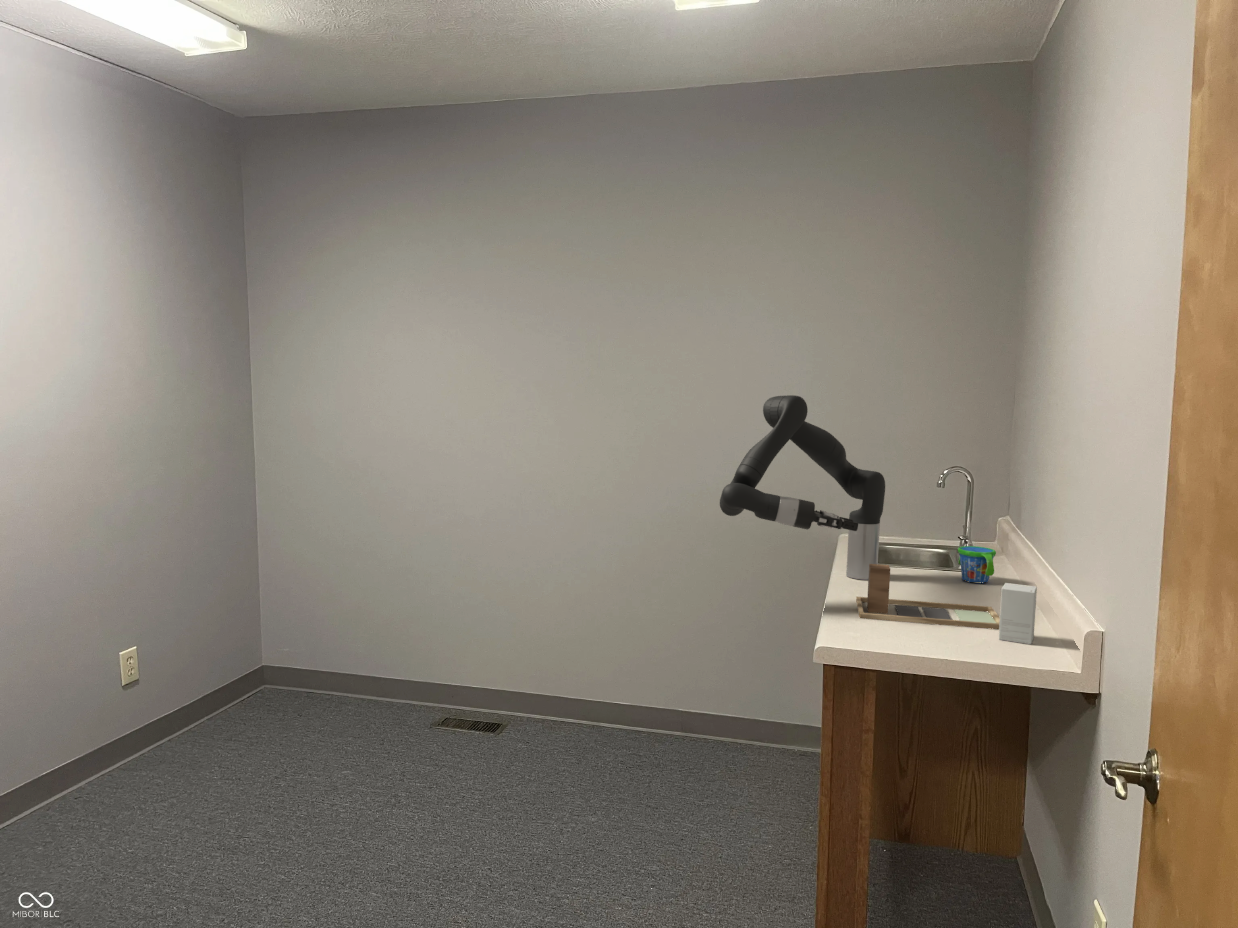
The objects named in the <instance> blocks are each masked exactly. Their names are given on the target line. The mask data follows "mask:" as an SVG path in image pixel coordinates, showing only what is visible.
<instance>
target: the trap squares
mask: <svg viewBox="0 0 1238 928" xmlns="http://www.w3.org/2000/svg"><path fill="white" fill-rule="evenodd" d="M894 608H895V611H896V614H897V616H910V617H922V618H924V617H923V614H924V616H925V618H935V619H948V620H953V619H952V618H951V616H950V614H949V612H948V611H947V610H948V609H946V608H933V607H921V609H922V611H923V614H922V612H921V610H920V606H907V605H894Z"/></svg>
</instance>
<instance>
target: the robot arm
mask: <svg viewBox="0 0 1238 928" xmlns="http://www.w3.org/2000/svg"><path fill="white" fill-rule="evenodd" d="M762 414H763V417H764V419H765V421H766V423H767V424H768V425H769V426H770V427H771V428H772V429H771V431H769V432H768V433H767V434H766V435H765V436H764V437H763V438H762V439H760V440H759V441H758V442H757V443H755V444H754V445H753V446H752V447H750V449H748V451H747V452H746V454H745V455H744V457H743V459H742V460H741V462H740V464H739V465H738V467H737V468H736V471H735V473H734V476H733V478H732V480H731V482H730V483H728V484H726V485H725V486H724V487H723V489H722V491H721V496H720V499H719V507H720V510H721V512H722V513H723V514H725V515H726V516H730V517H735V516H737V515H740V514H741V513H743V511H744V510H746V511H749V512H752V513H754V516H755V517H756V518H758V519H761V520H764V521H765V520H766V521H771V522H775V523H778V524H780V525H781V524H782V525H784V526H789V527H794V528H798V529H802V530H810V528H811V527H812V524H813V523H816V526H819V527H823V528H824V527H827V528H830V529H837V530H842V529H844V530H848V535H847V555H846V570H845V573H846V574H845V576H846V577H848V578H851V579H857V580H864V581H868V579H869V564H878V563H879V550H880V549H879V546H880V545H879V543H880V527H881V518H882V515H883V513H884V505H885V495H886V480H885V477H884V475H883V474H882V473H881V472H879V471H875V470H867V469H860V468H858V467H856V466H854V465H853V464H852V463H851V462H849V460H848V459H847V452H846V449H845V447H844V445H843V444H842V443H841V442H840V441H839V440H838V439H837V438H836V437H835V436H834V435H833V434H832V433H830V432H828V431H827V430H825V429H823V428H821V427H819V426H816V425H815V424H812V423H809V422H807V421H806V419H807V416H808V405H807V402H806V400H805V399H804V398H803V397H801V396H799V395H794V394H792V395H788V394H787V395H775V396H772V397H770V398H768V399H767V400H766V401H765V402H764V403H763V406H762ZM789 441H791V442H792V443H794V444H795V446H797V447H798V448H799V449H800V450H801V451H803V452H804V453H805V454H806V455H807V456H808V457H809V459H811V460H812V461H813V462H814V463H815V464H817V465H818V466H819V467H820V468H822V469H823V470H824V471H825V472H826V473H827V474H828V475H829V476H831V478H833V479H834V480H835V481H836V482H837V484H838V485H839V486H840V487H841V488H842V490H844V492H845V493H847V495H848V496H850V497H851V498H853V499H856V500H862V502H861V503H862V504H861V506H860V507H859V508H858V509H856V510H851V511H850V512H849V517H842V516H839V515H837V514H835V513H832V512H828V511H825V510H823V509H821V510H820V509H819V511H818V510H815V509H816V505H815V502H813V501H809V500H805V499H801V498H796V497H790V496H781V495H778V494H772V493H768V492H767V493H766V492H763V491H762V490H759V489H757V488H756V487H757V486H758V485H759V483H760V482H761V480H762V478H763V477H764V475H765V474H766V472H767V470H768V468H769V467H770V465H771V463H772V462H773V460H774V459H775V458H776V457H777V455H778V454H779V453H780V451H781V450H782V449H783V448H784V447H785V445H786V444H787V443H788V442H789Z"/></svg>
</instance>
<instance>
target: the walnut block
mask: <svg viewBox="0 0 1238 928" xmlns="http://www.w3.org/2000/svg"><path fill="white" fill-rule="evenodd" d="M890 581H891V567H890V565H889V564H881V563H879V564H869V579H868V580H867V582H868V583H867V596H866V597H867V602H866V611H867V613H872V614H885V615H889V604H888V602H889V599H890V583H891V582H890Z"/></svg>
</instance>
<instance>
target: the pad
mask: <svg viewBox="0 0 1238 928" xmlns="http://www.w3.org/2000/svg"><path fill="white" fill-rule="evenodd" d="M953 612H954V613H955V614H957V615H956V616H957V618H958V619H959V620H960V621H973V622H985V623H996V622H995V620H994V619H993V618H992V616H991V615H990V614H989V612H984V611H972V610H959V609H953Z"/></svg>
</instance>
